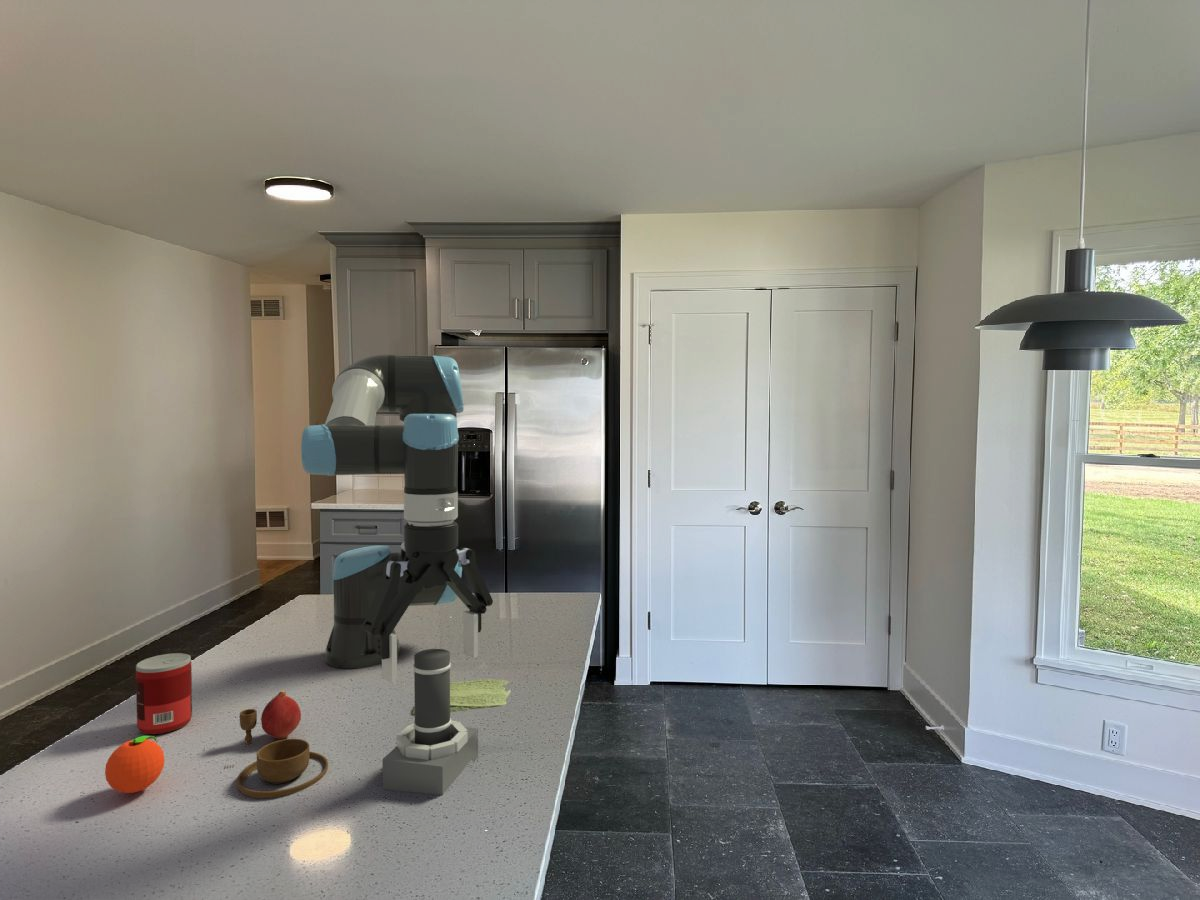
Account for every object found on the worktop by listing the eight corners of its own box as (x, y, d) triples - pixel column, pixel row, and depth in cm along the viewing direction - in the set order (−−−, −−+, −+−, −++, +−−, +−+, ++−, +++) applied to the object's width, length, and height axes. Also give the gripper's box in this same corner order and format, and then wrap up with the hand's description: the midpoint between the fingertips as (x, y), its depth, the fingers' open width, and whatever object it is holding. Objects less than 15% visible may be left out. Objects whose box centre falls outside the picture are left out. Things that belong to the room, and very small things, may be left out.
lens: (427, 755, 97) (426, 663, 96) (407, 743, 100) (406, 654, 100) (458, 742, 101) (457, 654, 100) (438, 731, 104) (437, 646, 104)
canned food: (202, 718, 120) (201, 655, 119) (160, 738, 112) (158, 671, 112) (170, 712, 122) (168, 650, 122) (126, 731, 115) (124, 665, 114)
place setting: (203, 814, 92) (202, 770, 92) (237, 746, 111) (236, 709, 111) (343, 795, 97) (342, 753, 97) (352, 732, 116) (352, 698, 116)
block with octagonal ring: (444, 803, 94) (443, 756, 94) (381, 794, 96) (381, 748, 96) (479, 760, 105) (479, 719, 105) (422, 753, 108) (422, 713, 107)
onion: (262, 751, 108) (262, 700, 108) (260, 736, 113) (259, 688, 113) (303, 742, 111) (302, 693, 111) (298, 728, 116) (298, 681, 116)
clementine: (134, 772, 101) (133, 725, 101) (180, 773, 101) (179, 725, 101) (92, 802, 94) (91, 751, 93) (143, 804, 93) (141, 752, 93)
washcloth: (515, 718, 121) (515, 700, 121) (411, 726, 118) (411, 708, 118) (510, 690, 134) (510, 673, 134) (416, 696, 131) (416, 679, 131)
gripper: (362, 536, 87) (364, 700, 89) (515, 515, 106) (515, 651, 107) (335, 528, 93) (337, 683, 94) (485, 509, 111) (485, 640, 112)
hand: (432, 667), depth 100 cm, fingers open, 13 cm apart
